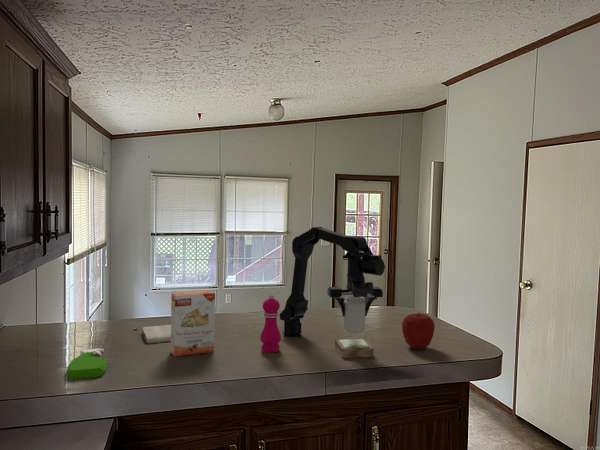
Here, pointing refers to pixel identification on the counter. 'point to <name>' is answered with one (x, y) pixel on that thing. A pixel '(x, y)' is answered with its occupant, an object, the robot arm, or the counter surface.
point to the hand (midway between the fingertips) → (354, 316)
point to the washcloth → (157, 333)
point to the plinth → (354, 348)
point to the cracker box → (192, 322)
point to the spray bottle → (87, 365)
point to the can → (354, 314)
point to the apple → (418, 330)
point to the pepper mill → (270, 326)
